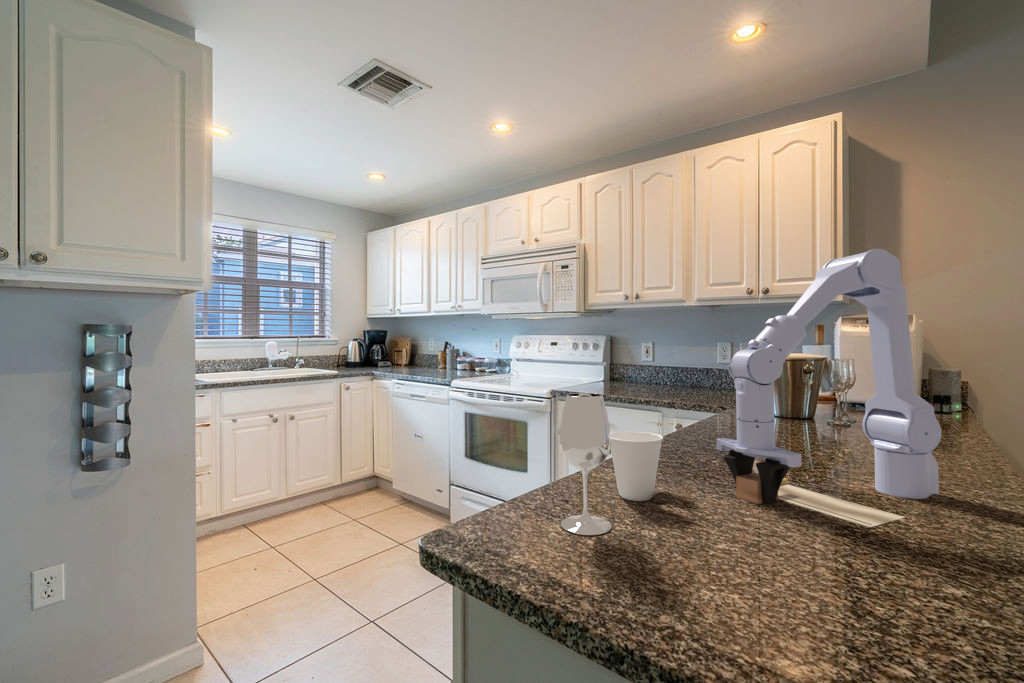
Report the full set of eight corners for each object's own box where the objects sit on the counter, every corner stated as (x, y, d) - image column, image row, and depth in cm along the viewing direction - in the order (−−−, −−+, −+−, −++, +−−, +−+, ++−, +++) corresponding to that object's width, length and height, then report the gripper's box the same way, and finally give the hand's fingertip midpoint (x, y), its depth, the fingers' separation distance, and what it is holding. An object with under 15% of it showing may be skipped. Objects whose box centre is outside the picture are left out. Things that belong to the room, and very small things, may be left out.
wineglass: (617, 521, 73) (615, 393, 73) (605, 540, 65) (603, 398, 66) (569, 513, 76) (568, 391, 76) (553, 531, 69) (551, 396, 69)
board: (770, 487, 89) (769, 479, 89) (905, 527, 69) (905, 517, 69) (736, 493, 85) (736, 485, 85) (869, 537, 65) (869, 527, 65)
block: (774, 497, 83) (773, 469, 83) (795, 504, 79) (795, 475, 79) (736, 505, 79) (736, 476, 79) (757, 513, 75) (757, 482, 75)
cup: (667, 507, 79) (666, 442, 79) (608, 503, 81) (607, 440, 81) (660, 489, 88) (660, 431, 89) (607, 486, 90) (607, 430, 91)
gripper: (703, 415, 83) (705, 491, 83) (779, 428, 70) (781, 518, 70) (731, 413, 86) (732, 486, 86) (809, 424, 73) (811, 511, 73)
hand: (756, 500), depth 78 cm, fingers closed on block, 4 cm apart
